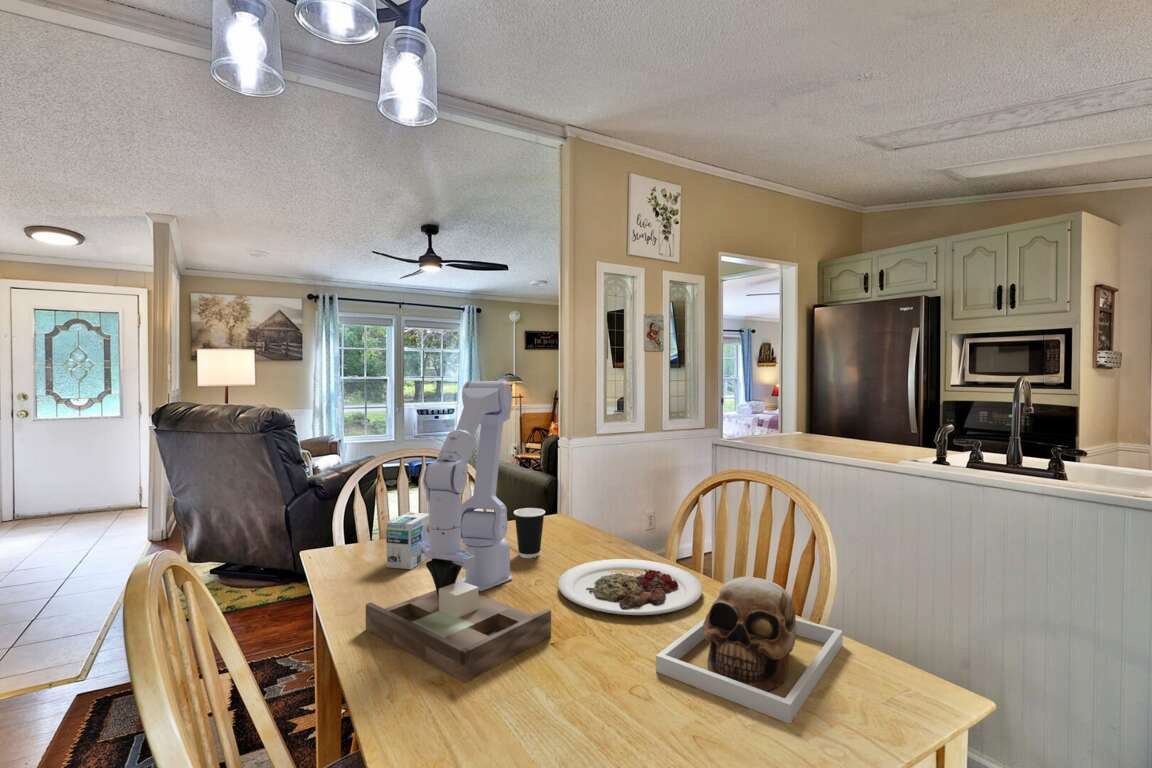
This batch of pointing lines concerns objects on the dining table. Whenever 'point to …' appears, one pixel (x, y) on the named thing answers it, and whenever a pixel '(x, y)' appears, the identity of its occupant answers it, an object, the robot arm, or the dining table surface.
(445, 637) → the brown wooden tray
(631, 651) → the dining table surface
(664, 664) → the tray
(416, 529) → the light bulb box
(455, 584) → the cream block
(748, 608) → the brown skull figurine
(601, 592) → the plated food
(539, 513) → the dixie cup
